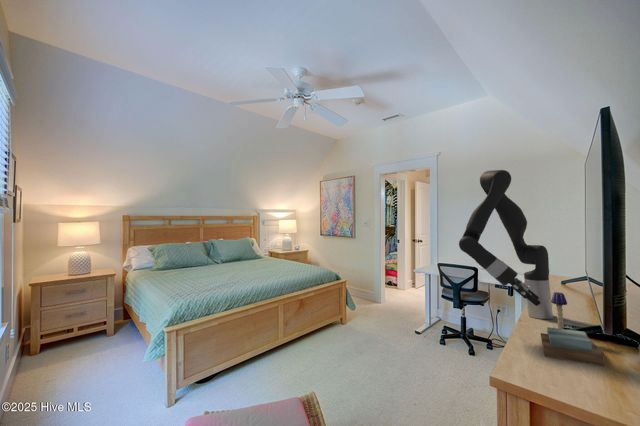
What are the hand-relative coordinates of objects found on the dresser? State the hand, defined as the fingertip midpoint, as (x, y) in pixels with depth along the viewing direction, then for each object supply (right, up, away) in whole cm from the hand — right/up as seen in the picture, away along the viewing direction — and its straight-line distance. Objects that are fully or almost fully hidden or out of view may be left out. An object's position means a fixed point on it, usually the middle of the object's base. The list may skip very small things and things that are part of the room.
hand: (538, 301), depth 110 cm
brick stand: (-3, -12, -17) cm, 21 cm away
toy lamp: (+6, -12, -5) cm, 14 cm away
